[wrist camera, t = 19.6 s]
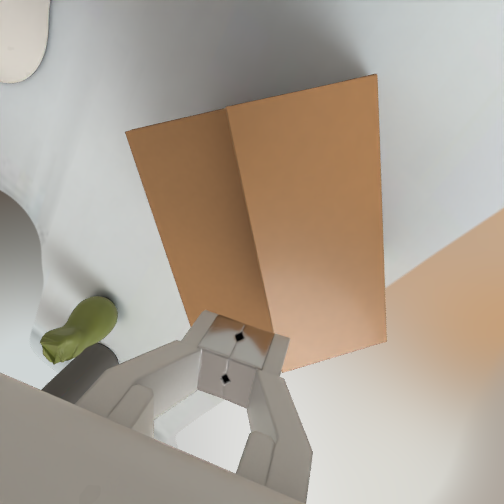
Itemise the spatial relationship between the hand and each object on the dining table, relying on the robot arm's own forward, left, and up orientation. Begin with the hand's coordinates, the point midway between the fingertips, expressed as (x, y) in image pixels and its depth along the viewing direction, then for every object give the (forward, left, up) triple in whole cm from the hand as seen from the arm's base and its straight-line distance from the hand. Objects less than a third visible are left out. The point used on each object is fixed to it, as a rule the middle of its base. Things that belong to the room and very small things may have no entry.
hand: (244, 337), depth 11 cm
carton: (0, -2, -21) cm, 21 cm away
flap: (0, +2, -8) cm, 8 cm away
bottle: (+24, -37, -21) cm, 49 cm away
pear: (+14, -31, -21) cm, 40 cm away
